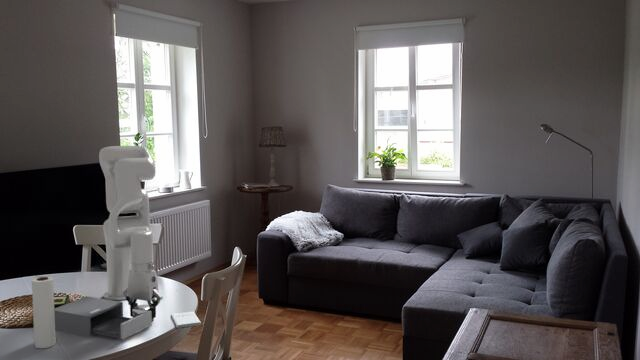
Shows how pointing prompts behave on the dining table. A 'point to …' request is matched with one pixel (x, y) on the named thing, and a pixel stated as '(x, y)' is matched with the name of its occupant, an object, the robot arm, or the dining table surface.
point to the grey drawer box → (85, 315)
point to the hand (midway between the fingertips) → (143, 316)
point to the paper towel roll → (43, 311)
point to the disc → (140, 309)
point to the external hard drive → (185, 319)
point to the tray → (122, 325)
